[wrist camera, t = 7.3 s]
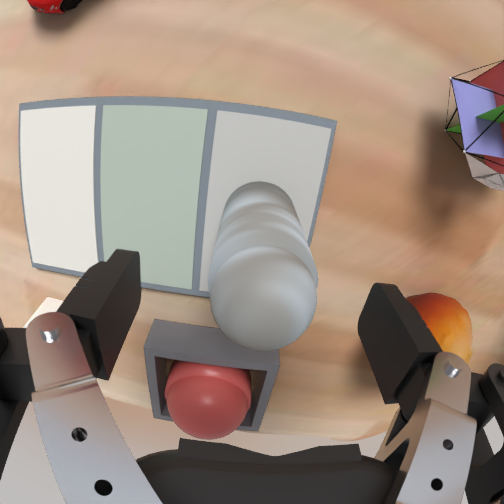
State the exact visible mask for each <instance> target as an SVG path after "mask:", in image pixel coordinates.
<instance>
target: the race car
mask: <svg viewBox="0 0 504 504" xmlns="http://www.w3.org/2000/svg"><path fill="white" fill-rule="evenodd" d="M27 1H28V2H29V4H30V6H31V7H32V8H33V9H34V10H36V11H38V12H44V13H48V14H61V13H64V11H63V10H71V9H74V8H76V7H77V5H78V4H79V3H80V2H81V1H82V0H27Z"/></svg>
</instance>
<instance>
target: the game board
mask: <svg viewBox="0 0 504 504" xmlns="http://www.w3.org/2000/svg"><path fill="white" fill-rule="evenodd" d="M336 124H337V121H335V120H331V119H326V118H322V117H317V116H312V115H307V114H302V113H297V112H291V111H286V110H280V109H274V108H267V107H261V106H254V105H247V104H239V103H230V102H221V101H211V100H200V99H186V98H169V97H131V96H123V97H86V98H69V99H56V100H46V101H37V102H28V103H21V104H19V168H20V183H21V195H22V205H23V213H24V221H25V228H26V234H27V241H28V246H29V252H30V257H31V262H32V267H35V268H39V269H44V270H49V271H54V272H59V273H64V274H69V275H74V276H80V277H82V276H83V275H84V274H85V272H86V271H87V270H88V268H90V267H91V266H93V265H95V264H96V263H98V262H100V261H104V262H107V260H108V259H109V258H110V256H111V255H112V254H113V252H114V251H115V250H116V249H124V250H131V251H138V252H139V254H140V273H141V287H142V288H149V289H155V290H161V291H168V292H175V293H181V294H188V295H195V296H203V297H210V293H209V290H208V273H209V268H210V264H211V260H212V256H213V252H214V247H215V243H216V239H217V235H218V231H219V227H220V223H221V219H222V215H223V211H224V207H225V204H226V202H227V200H228V198H229V197H230V195H231V194H232V193H233V192H234V191H235V190H236V189H237V188H239V187H241V186H242V185H245V184H247V183H250V182H258V181H262V182H268V183H272V184H275V185H276V186H278V187H280V188H281V189H283V190H284V191H285V192H286V193H287V194H288V195H289V197H290V199H291V200H292V203H293V205H294V208H295V210H296V213H297V216H298V218H299V221H300V224H301V227H302V229H303V232H304V235H305V238H306V240H307V243H308V246H309V247H310V243H311V239H312V235H313V231H314V226H315V222H316V218H317V214H318V209H319V205H320V201H321V196H322V192H323V187H324V183H325V178H326V173H327V169H328V164H329V159H330V154H331V149H332V144H333V139H334V134H335V129H336Z"/></svg>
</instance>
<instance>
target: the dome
mask: <svg viewBox="0 0 504 504" xmlns="http://www.w3.org/2000/svg"><path fill="white" fill-rule="evenodd" d="M165 398H166V400H167V407H168V411H169V414H170V416H171V418H172V420H173V421H174V422H175V424H176V425H177V426H178V427H179V428H180V429H182V430H183V431H184V432H185V433H187V434H189V435H191V436H193V437H196V438H201V439H217V438H221V437H224V436H226V435H228V434H230V433H232V432H233V431H234V430H236V429H237V428H238V427H239V426H240V424H241V423H242V421H243V420H244V418H245V416H246V413H247V411H248V410H249V408H250V406H251V375H250V372H249V370H248V369H242V368H233V367H224V366H216V365H208V364H201V363H194V362H187V361H181V360H175V361H174V362H173V363H172V365H171V368H170V372H169V376H168V380H167V384H166V388H165Z"/></svg>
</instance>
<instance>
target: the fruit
mask: <svg viewBox="0 0 504 504" xmlns="http://www.w3.org/2000/svg"><path fill="white" fill-rule="evenodd" d="M406 300H407V301H408V302H409V303H411V304H412V305H413V306H414V307H415V308H416V309H417V311H418V312H419V314H420V315H421V317H422V319H423V320H424V321H425V323H426V325H427V327H428V328H429V329H430V331H431V332H432V334H433V336H434V337H435V339H436V340H437V342H438V344H439V345H440V347H441V349H442V350H443V351H446V352H451V353H454V354H456V355H458V356H459V357H461V358H462V359H463V360H464V361H465V362H466V363H467V364H468V363H469V360H470V358H471V355H472V353H473V336H472V324H471V319H470V317H469V314H468V312H467V311H466V310H465V309H464V308H463V307H462V306H461V305H460V303H459V302H458V301H456V300H455V299H453V298H451V297H447V296H444V295H441V294H437V293H426V294H422V295H414V296H410V297H408V298H406Z"/></svg>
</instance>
